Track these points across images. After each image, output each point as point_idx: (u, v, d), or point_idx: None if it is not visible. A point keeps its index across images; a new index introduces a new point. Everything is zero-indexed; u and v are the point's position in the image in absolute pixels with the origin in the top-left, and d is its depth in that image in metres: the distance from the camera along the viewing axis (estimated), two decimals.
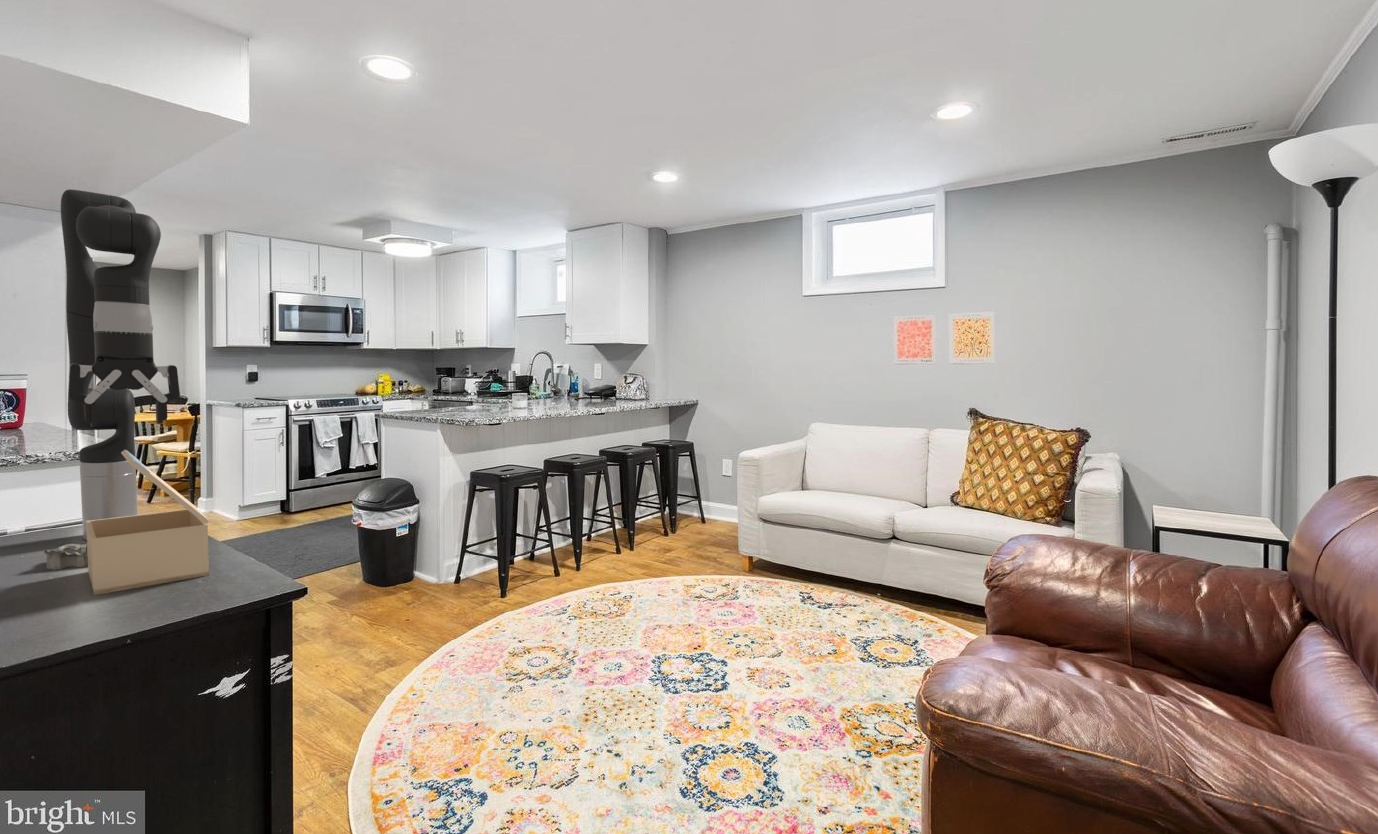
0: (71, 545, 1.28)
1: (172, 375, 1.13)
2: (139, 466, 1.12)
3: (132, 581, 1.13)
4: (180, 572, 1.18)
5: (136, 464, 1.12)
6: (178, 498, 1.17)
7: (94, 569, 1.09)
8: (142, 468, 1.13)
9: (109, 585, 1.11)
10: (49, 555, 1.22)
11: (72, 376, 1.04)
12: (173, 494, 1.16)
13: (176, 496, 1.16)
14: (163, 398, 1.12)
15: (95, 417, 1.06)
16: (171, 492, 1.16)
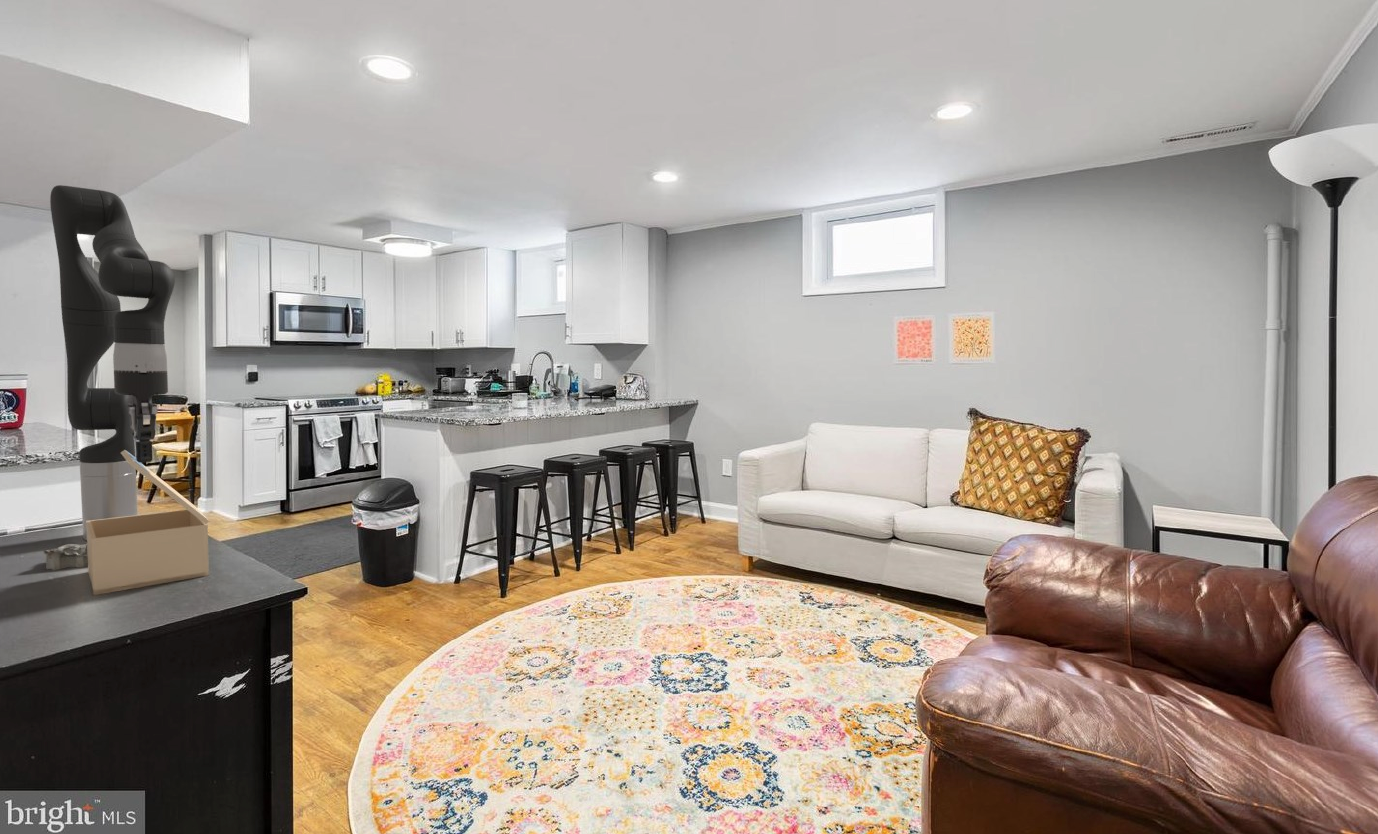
0: (71, 545, 1.27)
1: None
2: (139, 466, 1.12)
3: (132, 581, 1.13)
4: (180, 572, 1.18)
5: (136, 464, 1.12)
6: (178, 498, 1.17)
7: (94, 569, 1.09)
8: (142, 468, 1.13)
9: (109, 585, 1.11)
10: (48, 555, 1.22)
11: (154, 424, 1.16)
12: (173, 494, 1.16)
13: (176, 496, 1.16)
14: None
15: (151, 453, 1.20)
16: (171, 492, 1.16)
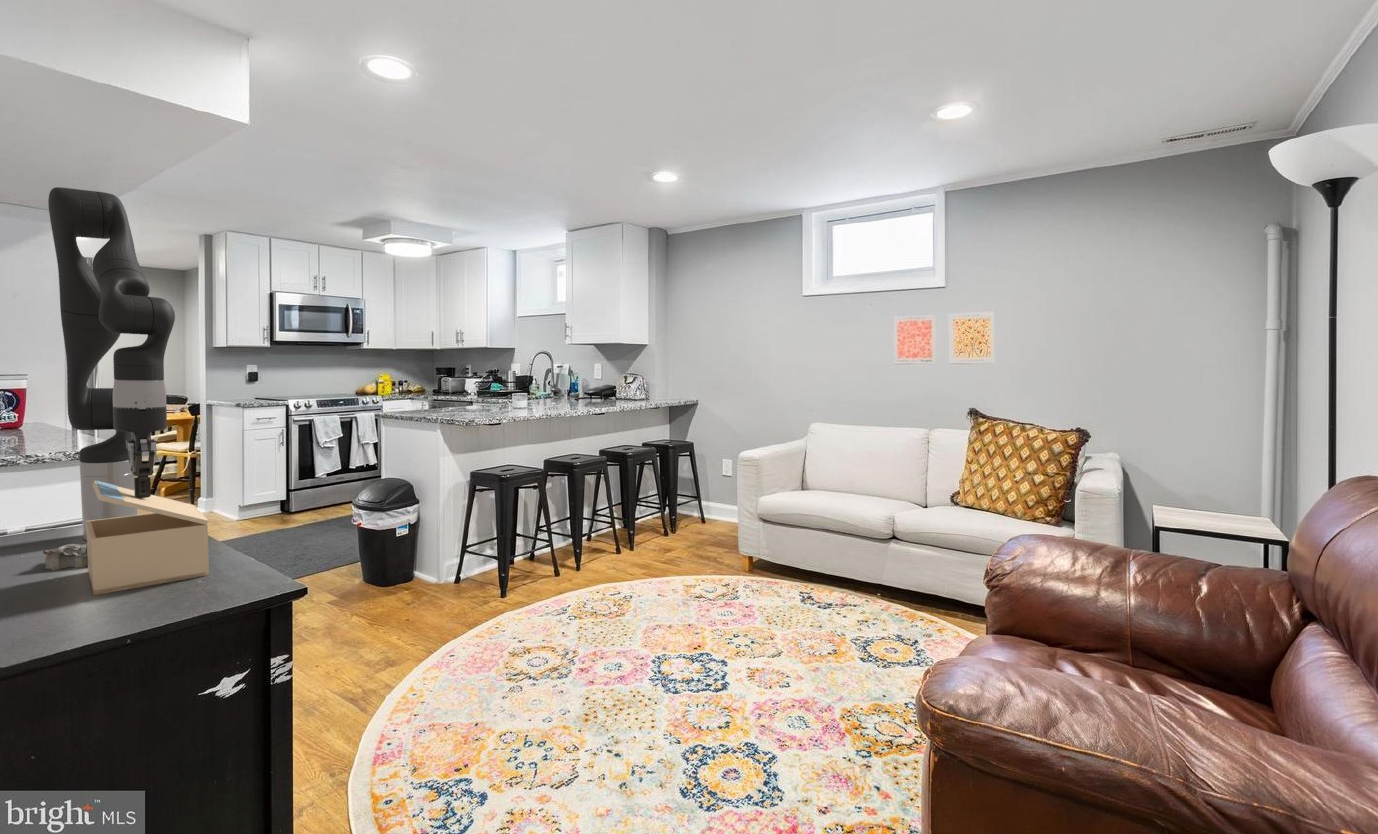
0: (71, 545, 1.27)
1: None
2: (109, 498, 1.10)
3: (132, 581, 1.13)
4: (180, 572, 1.18)
5: (105, 497, 1.09)
6: (166, 512, 1.16)
7: (94, 569, 1.09)
8: (113, 499, 1.10)
9: (109, 585, 1.11)
10: (48, 555, 1.22)
11: None
12: (158, 510, 1.15)
13: (162, 511, 1.15)
14: None
15: None
16: (155, 509, 1.14)
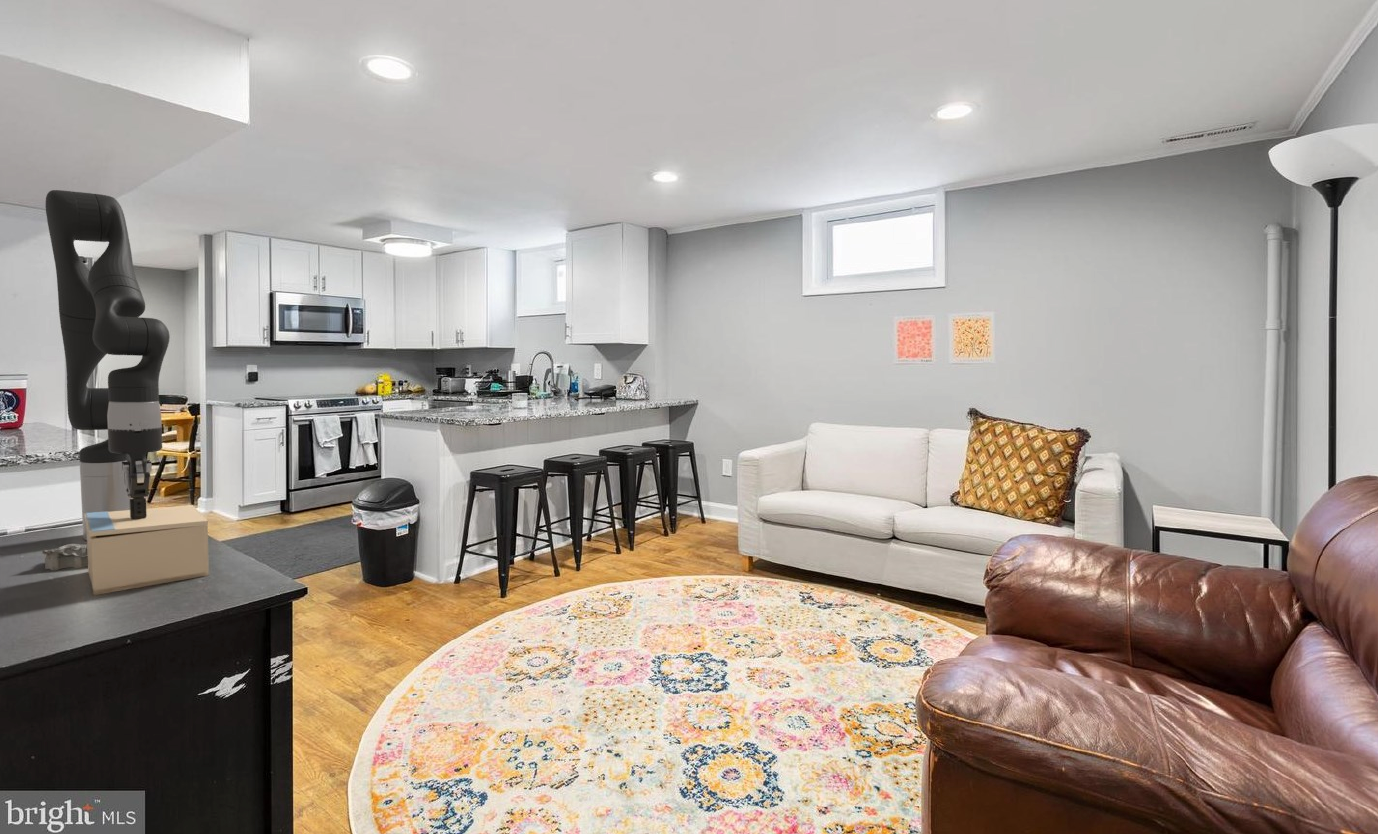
0: (72, 545, 1.27)
1: None
2: (99, 531, 1.09)
3: (132, 581, 1.13)
4: (180, 572, 1.18)
5: (95, 532, 1.09)
6: (161, 526, 1.15)
7: (94, 569, 1.09)
8: (104, 531, 1.10)
9: (109, 585, 1.11)
10: (47, 555, 1.22)
11: (148, 482, 1.16)
12: (154, 527, 1.15)
13: (158, 526, 1.15)
14: None
15: (145, 509, 1.19)
16: (150, 527, 1.14)
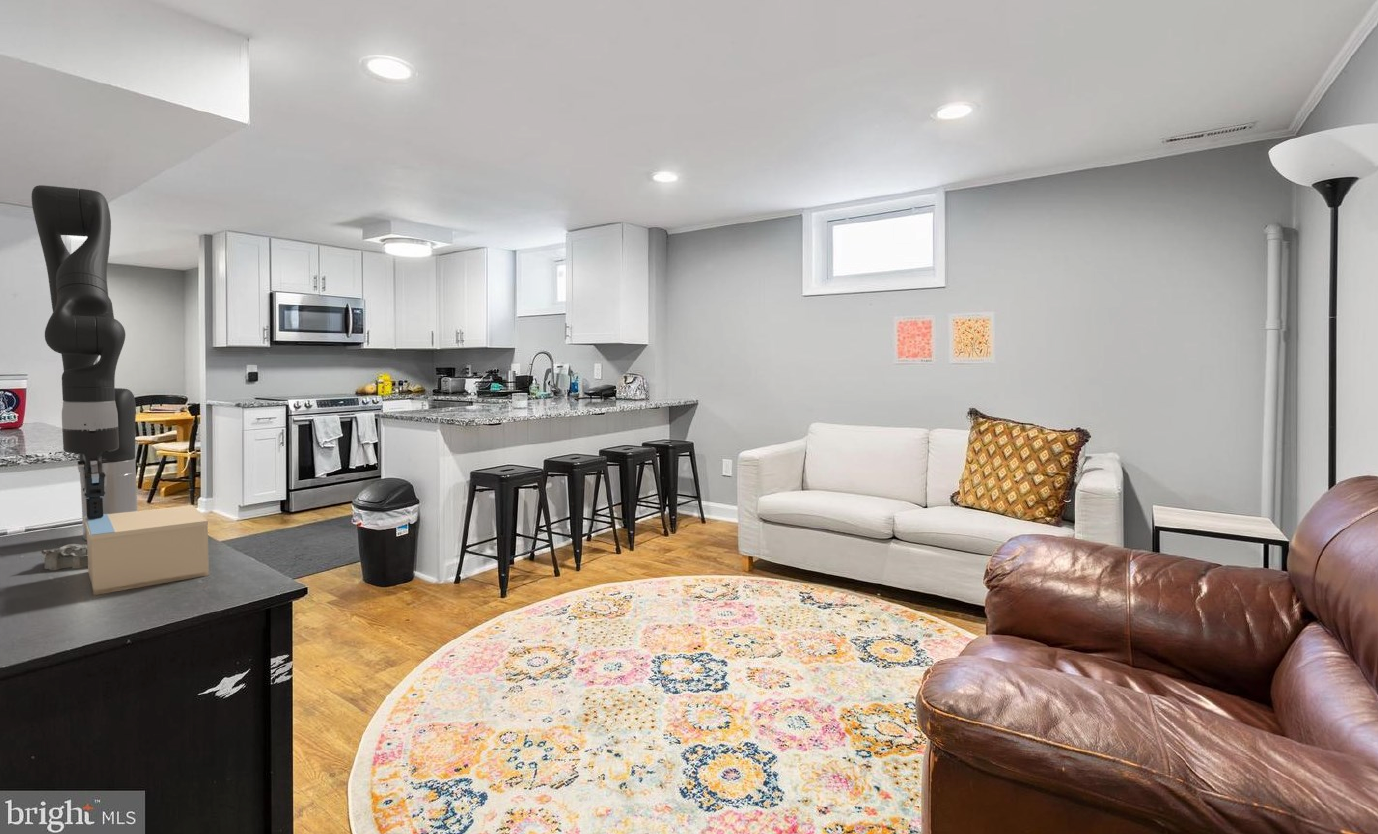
0: (73, 545, 1.27)
1: None
2: (99, 535, 1.09)
3: (132, 581, 1.13)
4: (180, 572, 1.18)
5: (95, 535, 1.09)
6: (161, 527, 1.15)
7: (94, 569, 1.09)
8: (104, 534, 1.10)
9: (109, 585, 1.11)
10: (47, 555, 1.22)
11: (104, 482, 1.16)
12: (154, 528, 1.15)
13: (158, 528, 1.15)
14: None
15: (102, 509, 1.19)
16: (150, 529, 1.14)
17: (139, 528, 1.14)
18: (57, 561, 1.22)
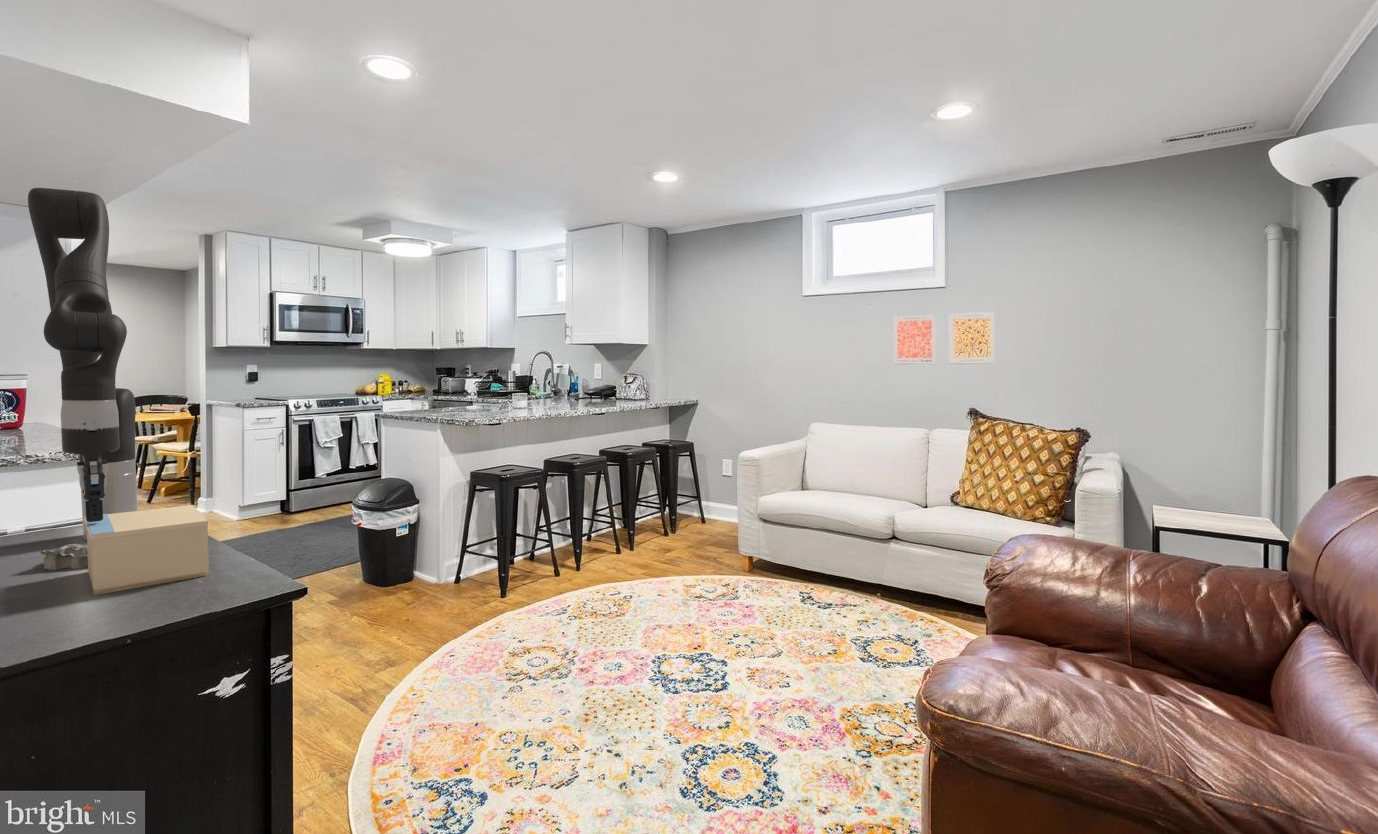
0: (73, 545, 1.27)
1: None
2: (99, 535, 1.09)
3: (132, 581, 1.13)
4: (180, 572, 1.18)
5: (95, 535, 1.09)
6: (161, 527, 1.15)
7: (94, 569, 1.09)
8: (104, 534, 1.10)
9: (109, 585, 1.11)
10: (46, 555, 1.22)
11: (104, 483, 1.12)
12: (154, 528, 1.15)
13: (158, 528, 1.15)
14: None
15: (102, 511, 1.15)
16: (150, 529, 1.14)
17: (139, 528, 1.14)
18: (56, 561, 1.22)
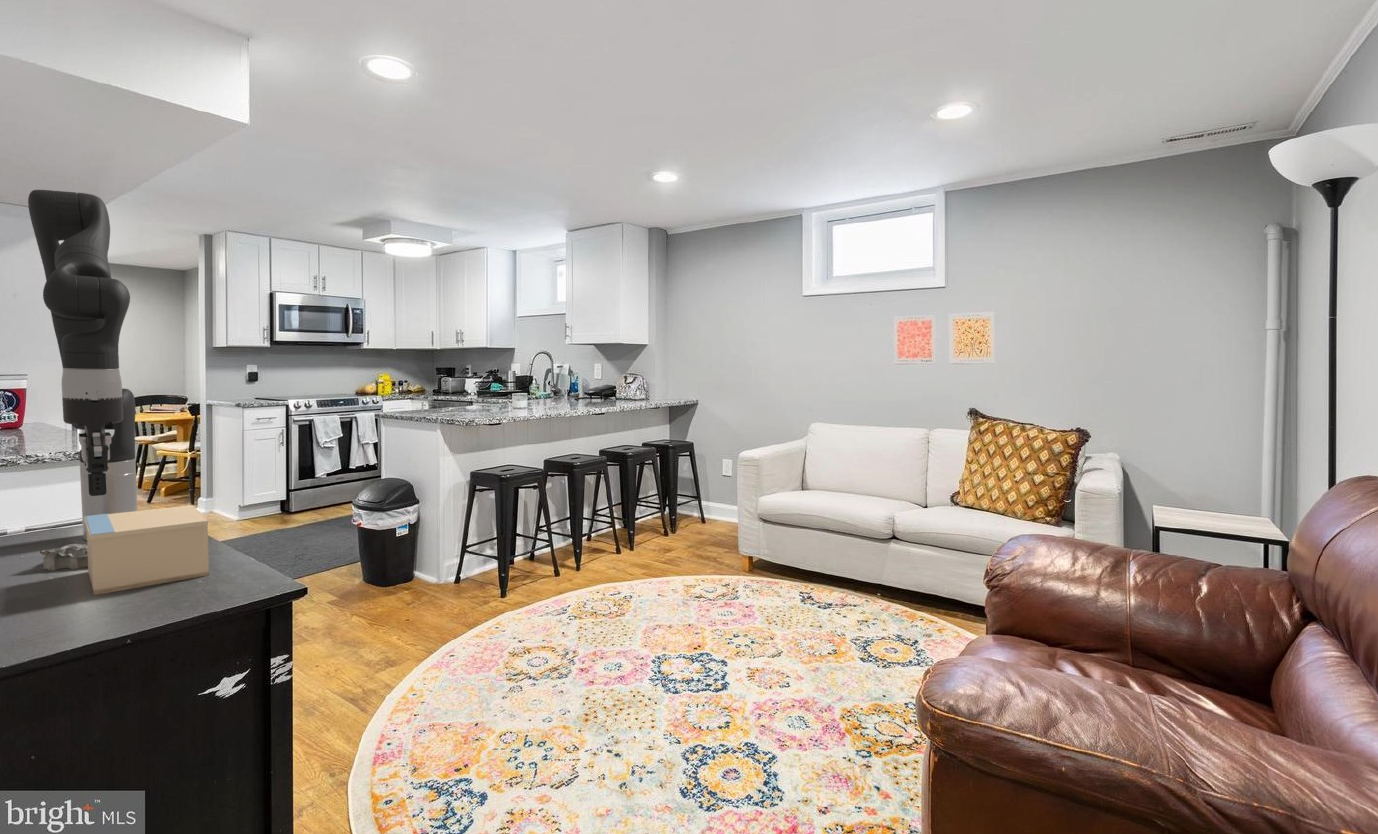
0: (74, 545, 1.27)
1: None
2: (99, 535, 1.09)
3: (132, 581, 1.13)
4: (180, 572, 1.18)
5: (95, 535, 1.09)
6: (161, 527, 1.15)
7: (94, 569, 1.09)
8: (104, 534, 1.10)
9: (109, 585, 1.11)
10: (45, 555, 1.22)
11: (107, 455, 1.07)
12: (154, 528, 1.15)
13: (158, 528, 1.15)
14: None
15: (105, 485, 1.11)
16: (150, 529, 1.14)
17: (139, 528, 1.14)
18: (55, 561, 1.21)
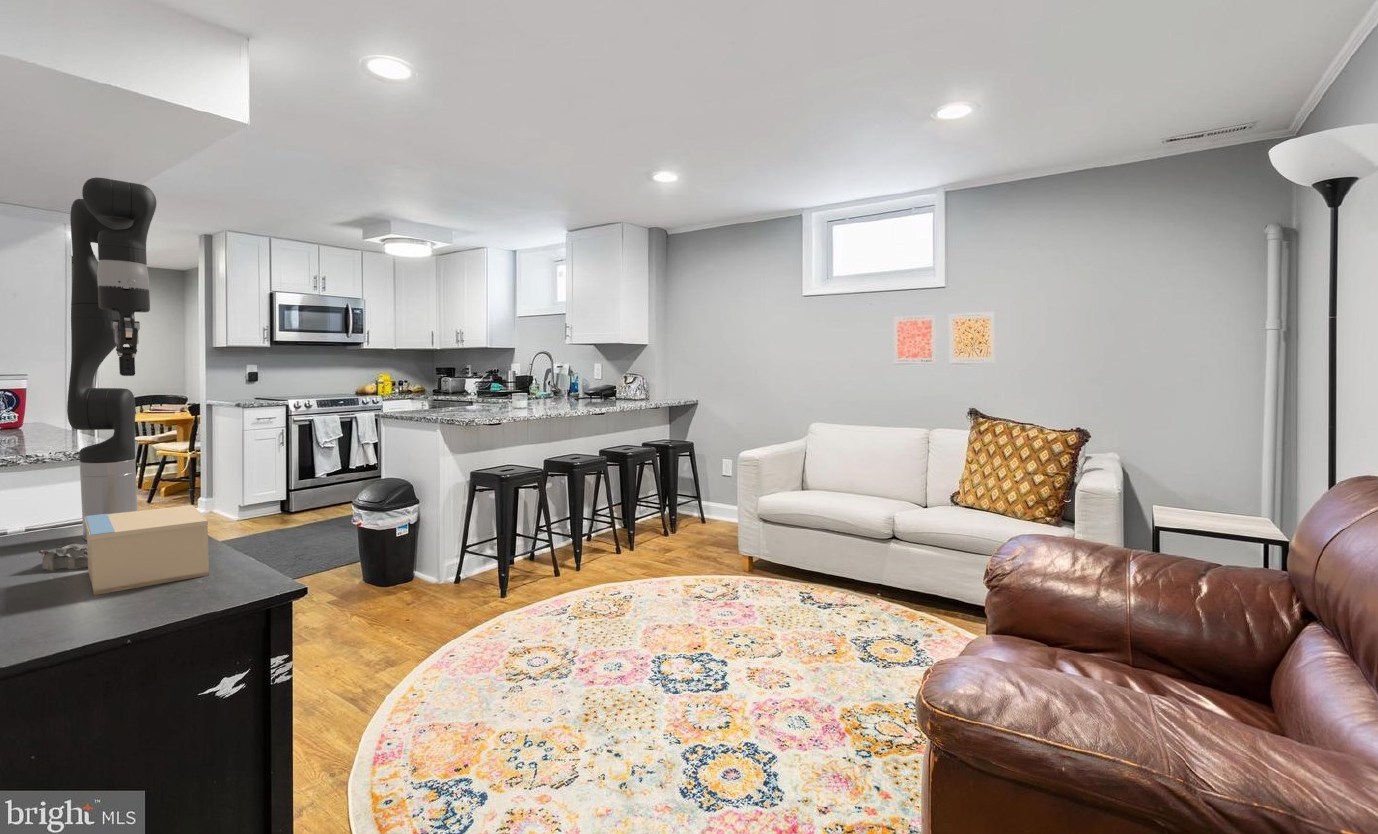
0: (75, 545, 1.27)
1: None
2: (99, 535, 1.09)
3: (132, 581, 1.13)
4: (180, 572, 1.18)
5: (95, 535, 1.09)
6: (161, 527, 1.15)
7: (94, 569, 1.09)
8: (104, 534, 1.10)
9: (109, 585, 1.11)
10: (44, 555, 1.22)
11: (136, 337, 1.22)
12: (154, 528, 1.15)
13: (158, 528, 1.15)
14: None
15: (134, 368, 1.26)
16: (150, 529, 1.14)
17: (139, 528, 1.14)
18: (53, 561, 1.21)
